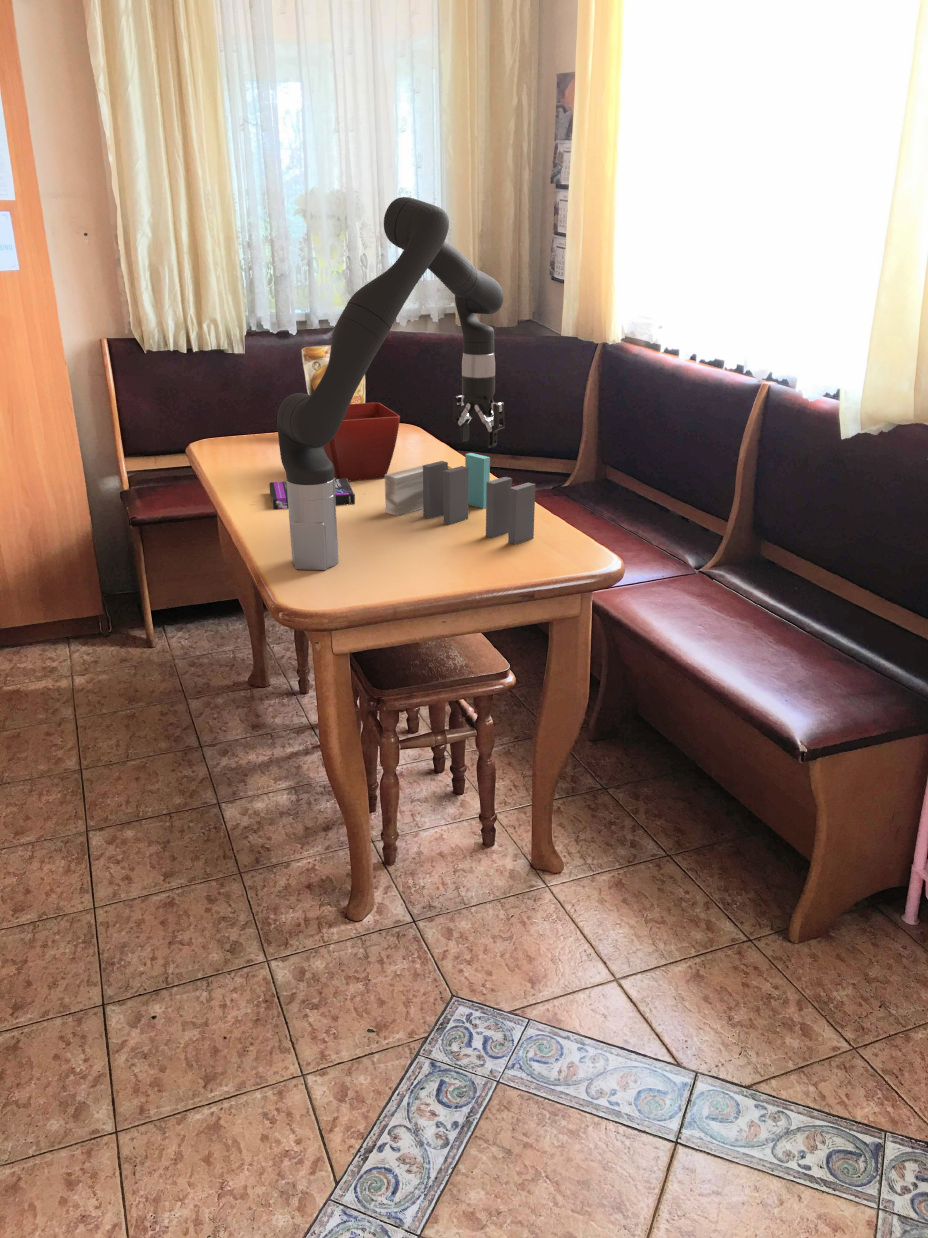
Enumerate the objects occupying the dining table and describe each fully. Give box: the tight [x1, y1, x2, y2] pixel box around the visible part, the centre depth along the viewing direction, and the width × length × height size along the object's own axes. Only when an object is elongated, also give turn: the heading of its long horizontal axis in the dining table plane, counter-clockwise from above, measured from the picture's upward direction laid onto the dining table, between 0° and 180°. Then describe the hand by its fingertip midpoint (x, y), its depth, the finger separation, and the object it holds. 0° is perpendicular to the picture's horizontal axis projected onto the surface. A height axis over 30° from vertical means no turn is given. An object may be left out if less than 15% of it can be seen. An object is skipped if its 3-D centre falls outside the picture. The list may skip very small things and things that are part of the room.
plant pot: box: [323, 402, 401, 482], centre depth 252 cm, size 19×19×17 cm
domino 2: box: [443, 465, 469, 525], centre depth 217 cm, size 2×6×12 cm, turn 136°
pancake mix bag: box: [300, 344, 367, 404], centre depth 285 cm, size 7×19×28 cm, turn 111°
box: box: [268, 478, 356, 510], centre depth 235 cm, size 14×4×20 cm
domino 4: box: [485, 476, 513, 539], centre depth 209 cm, size 2×6×12 cm, turn 136°
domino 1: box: [422, 460, 449, 519], centre depth 221 cm, size 2×6×12 cm, turn 136°
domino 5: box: [507, 482, 536, 546], centre depth 205 cm, size 2×6×12 cm, turn 136°
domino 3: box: [464, 452, 491, 509], centre depth 228 cm, size 2×6×12 cm, turn 46°
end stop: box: [384, 463, 428, 517], centre depth 227 cm, size 4×14×9 cm, turn 136°
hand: (478, 444), depth 225 cm, fingers open, 8 cm apart
